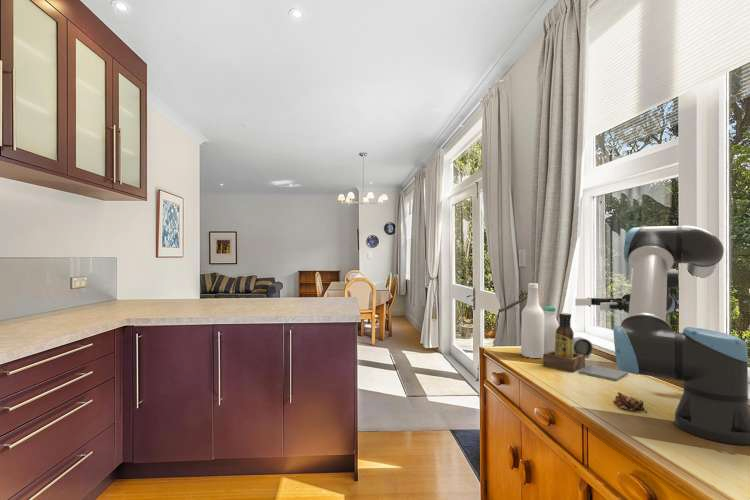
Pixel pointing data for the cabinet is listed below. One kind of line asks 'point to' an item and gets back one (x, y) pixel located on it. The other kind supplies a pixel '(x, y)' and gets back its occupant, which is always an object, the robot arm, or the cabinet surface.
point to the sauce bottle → (564, 337)
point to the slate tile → (603, 372)
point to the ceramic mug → (582, 346)
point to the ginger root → (628, 402)
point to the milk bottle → (549, 329)
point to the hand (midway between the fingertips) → (587, 304)
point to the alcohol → (532, 325)
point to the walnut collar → (564, 361)
